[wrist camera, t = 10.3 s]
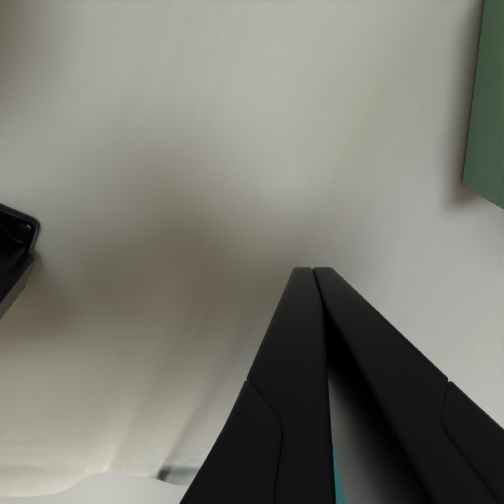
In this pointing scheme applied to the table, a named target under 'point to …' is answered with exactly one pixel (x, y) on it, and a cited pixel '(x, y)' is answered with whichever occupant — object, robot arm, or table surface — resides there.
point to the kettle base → (488, 111)
